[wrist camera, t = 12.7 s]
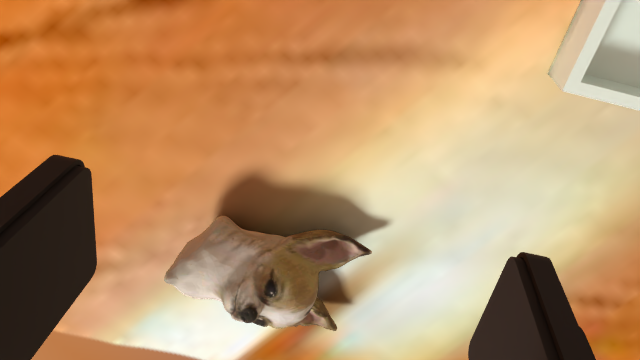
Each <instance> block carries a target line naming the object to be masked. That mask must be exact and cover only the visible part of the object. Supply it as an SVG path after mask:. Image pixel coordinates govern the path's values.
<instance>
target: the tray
mask: <svg viewBox="0 0 640 360" xmlns="http://www.w3.org/2000/svg"><path fill="white" fill-rule="evenodd" d="M548 75H549V76H550V77H551V78H552V80H553V81H554V82H555V83H556V84H557V86H558V87H559V88H560V89H561V90H562V91H564V92H568V93H572V94H576V95H580V96H584V97H588V98H591V99H595V100H599V101H603V102H607V103H611V104H615V105H619V106H623V107H627V108H631V109H635V110H638V111H640V0H581V2H580V4H579V6H578V8H577V11H576V13H575V15H574V17H573V19H572V22H571V24H570V26H569V28H568V30H567V32H566V35H565V37H564V39H563V41H562V43H561V45H560V48H559V50H558V52H557V54H556V56H555V59H554V61H553V63H552V65H551V67H550V69H549V72H548Z"/></svg>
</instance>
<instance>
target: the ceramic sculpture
mask: <svg viewBox="0 0 640 360" xmlns="http://www.w3.org/2000/svg"><path fill="white" fill-rule="evenodd" d="M371 253H372V251H371V250H369V249H368V248H366V247H365V246H363V245H362V244H360V243H359V242H357V241H356V240H354V239H352V238H350V237H348V236H346V235H343V234H340V233H337V232H334V231H329V230H314V231H308V232H303V233H299V234H294V235H290V236H287V237H283V236H279V235H272V234H264V233H260V232H255V231H247V230H244V229H241V228H240V227H238V226H237V225H236V224H235V223H234V222H233V221H232V220H231V219H230V218H228V217H226V216H219V217H217V218H216V220H215V221H214V222H213V223H212V224H211V225H210V226H209V227H208V228H207V229H206V230H205V231H204V232H203V233H202V234H200V235H199V236H197V237H195V238H194V239H192V240H191V241H189V242H188V243H187V244H186V245H185V247H184V248H183V250H182V251H181V252H180V254H179V255H178V257H177V258H176V260H175V262H174V263H173V265H172V266H171V267H170V269H169V270H168V271H167V272H166V275H165V278H164V281H165V282H166V283H168V284H171V285H173V286H174V287H175V288H176V289H178V290H179V291H180V292H181V293H182V294H184V295H186V296H190V297H192V298H196V299H215V300H219V301H221V302H223V305H224V308H225V310H226V311H227V312H228V313H230V314H231V316H232V318H233V319H235V320H237V321H240V322H245V323H251V322H253V323H255V324H257V325H260V326H263V327H267V326H271V327H273V328H286V327H292V326H295V327H297V326H298V325H302V326H309V325H318V326H322V327H324V328H326V329H329V330H333V331H336V330H337V326H336V324H335V323H334V321H333V319H332V318H331V317H330V315H329V313H328V311H327V309H326V307H325V306H324V304H323V302H322V301H321V300H320V299H319V298H317V293H318V288H319V277H318V275H319V272H320V271H327V270H331V269H336V268H339V267H341V266H343V265H345V264H346V263H347V262H349V261H351V260H353V259H355V258H357V257H360V256H364V255H369V254H371Z"/></svg>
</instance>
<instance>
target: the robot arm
mask: <svg viewBox="0 0 640 360" xmlns="http://www.w3.org/2000/svg"><path fill="white" fill-rule="evenodd" d="M96 265H97V257H96V241H95V225H94V209H93V193H92V177H91V171H90V169H88V168H85V166H84V163H83V162H82V161H81V160H78V159H74V158H69V157H64V156H59V155H52V156H51V157H49V158H48V159H47V160H45V161H44V162H43V163H42V164H41V165H39V166H38V167H37V168H36V169H34V170H33V171H32V172H31V173H30V174H28V175H27V176H26V177H25V178H23V179H22V180H21V181H20V182H19V183H17V184H16V185H15V186H14V187H12V188H11V189H10V190H9V191H8V192H6V193H5V194H4V195H3V196H2V197H0V360H31V359H32V357H33V356H34V355H35V353H36V352H37V351H38V349H39V348H40V346H41V345H42V344H43V343H44V341H45V340H46V339H47V337H48V336H49V335H50V333H51V332H52V331H53V329H54V328H55V327H56V325H57V324H58V322H59V321H60V320H61V318H62V317H63V316H64V314H65V313H66V312H67V310H68V309H69V308H70V306H71V305H72V304H73V302H74V301H75V300H76V298H77V297H78V296H79V294H80V293H81V292H82V290H83V289H84V288H85V286H86V285H87V284H88V282H89V281H90V280H91V278H92V277H93V275H94V272H95V269H96ZM468 356H469V360H596V359H595V356H594V354H593V352H592V349H591V347H590V345H589V342H588V340H587V338H586V336H585V333H584V332H583V330H582V329H581V328H580V327H579V326H578V323H577V321H576V319H575V316H574V314H573V312H572V309H571V307H570V304H569V302H568V300H567V297H566V295H565V293H564V290H563V288H562V286H561V283H560V281H559V278H558V276H557V274H556V271H555V269H554V267H553V264H552V262H551V260H550V259H549V258H547V257H544V256H539V255H534V254H529V253H524V252H521V253H519V254H518V256H517V257H510V258H509V259H508V261H507V262H506V265H505V267H504V269H503V271H502V273H501V275H500V278H499V280H498V282H497V284H496V286H495V289H494V291H493V293H492V295H491V297H490V299H489V302H488V304H487V306H486V308H485V310H484V313H483V315H482V317H481V319H480V321H479V324H478V326H477V328H476V330H475V332H474V334H473V337H472V339H471V341H470V345H469V352H468Z"/></svg>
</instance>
